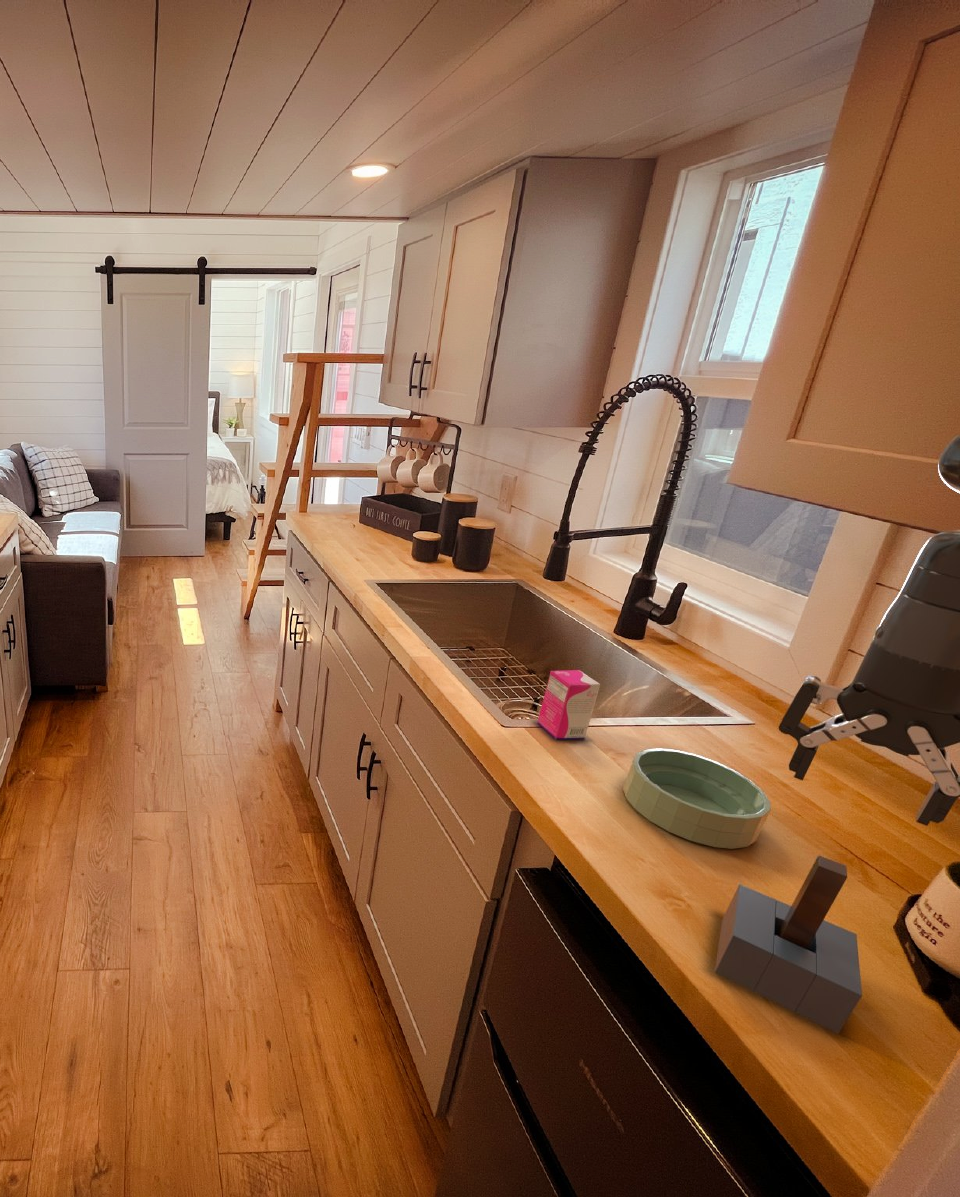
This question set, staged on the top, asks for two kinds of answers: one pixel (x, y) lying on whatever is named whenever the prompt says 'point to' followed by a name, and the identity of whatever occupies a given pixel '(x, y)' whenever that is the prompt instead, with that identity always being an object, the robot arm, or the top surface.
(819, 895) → the rectangular peg
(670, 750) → the bowl
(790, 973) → the holder
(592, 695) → the supplement box
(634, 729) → the top surface
